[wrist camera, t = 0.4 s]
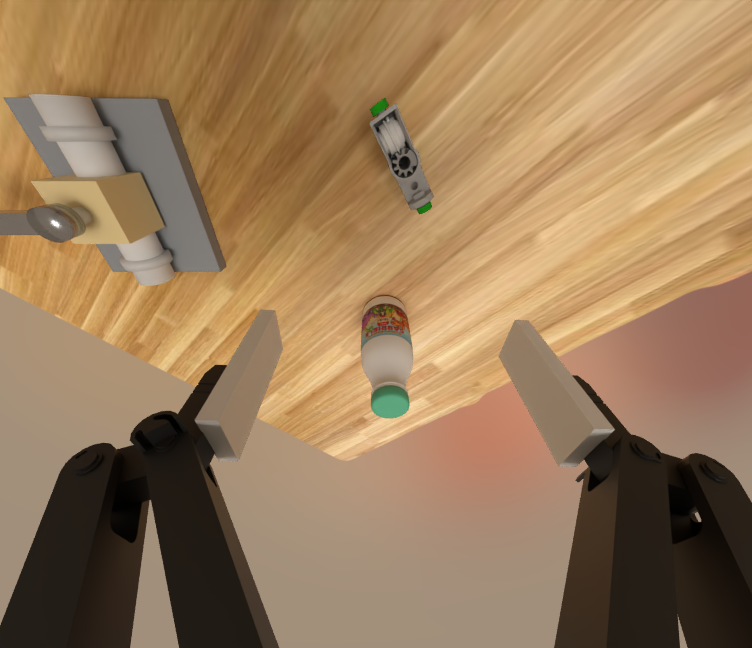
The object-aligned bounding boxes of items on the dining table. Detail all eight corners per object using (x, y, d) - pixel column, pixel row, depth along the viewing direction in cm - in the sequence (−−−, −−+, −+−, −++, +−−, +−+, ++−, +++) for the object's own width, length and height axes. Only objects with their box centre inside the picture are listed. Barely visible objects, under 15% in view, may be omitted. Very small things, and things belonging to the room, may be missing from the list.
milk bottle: (411, 322, 49) (430, 418, 33) (372, 335, 51) (373, 432, 35) (397, 288, 45) (411, 379, 29) (355, 303, 46) (346, 397, 30)
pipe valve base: (23, 99, 30) (-118, 88, 21) (168, 100, 30) (86, 90, 21) (123, 266, 42) (58, 302, 33) (226, 266, 42) (188, 302, 33)
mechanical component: (404, 198, 36) (414, 219, 28) (365, 116, 31) (362, 114, 23) (424, 186, 36) (440, 204, 28) (387, 100, 30) (393, 91, 22)
